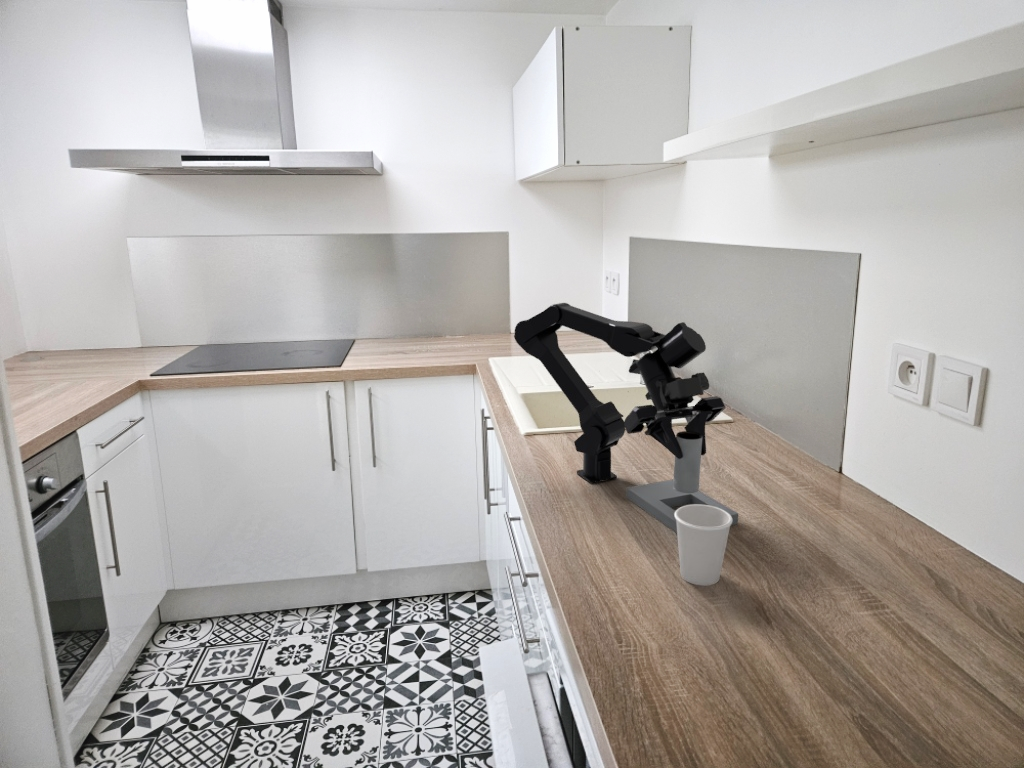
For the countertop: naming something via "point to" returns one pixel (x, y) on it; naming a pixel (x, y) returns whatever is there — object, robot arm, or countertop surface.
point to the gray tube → (688, 462)
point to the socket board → (670, 501)
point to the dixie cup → (702, 542)
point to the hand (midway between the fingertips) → (692, 456)
